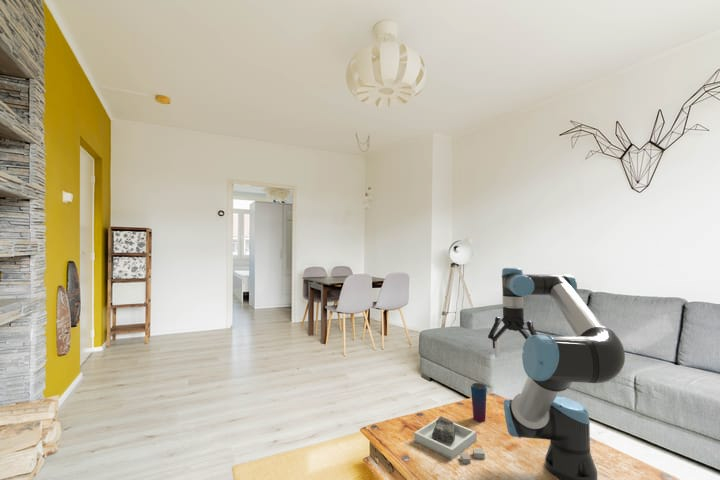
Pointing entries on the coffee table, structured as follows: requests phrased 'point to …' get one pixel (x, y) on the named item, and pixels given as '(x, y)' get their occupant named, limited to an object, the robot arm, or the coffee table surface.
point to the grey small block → (479, 453)
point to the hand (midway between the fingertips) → (514, 360)
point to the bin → (449, 447)
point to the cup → (479, 401)
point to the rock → (444, 429)
